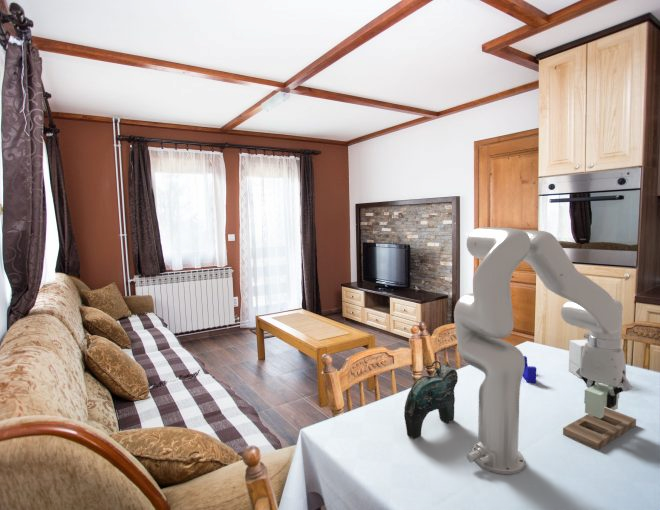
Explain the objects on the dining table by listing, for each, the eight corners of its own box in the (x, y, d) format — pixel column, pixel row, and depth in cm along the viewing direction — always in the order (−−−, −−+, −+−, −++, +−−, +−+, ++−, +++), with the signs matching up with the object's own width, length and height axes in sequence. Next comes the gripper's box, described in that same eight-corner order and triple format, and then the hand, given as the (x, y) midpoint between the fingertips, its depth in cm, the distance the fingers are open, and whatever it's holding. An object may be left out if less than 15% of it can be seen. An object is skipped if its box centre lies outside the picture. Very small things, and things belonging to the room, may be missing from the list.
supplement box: (599, 378, 146) (600, 345, 145) (579, 378, 146) (580, 346, 145) (586, 370, 153) (587, 339, 152) (567, 370, 153) (568, 339, 152)
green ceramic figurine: (446, 412, 124) (446, 352, 122) (462, 421, 119) (463, 358, 117) (400, 433, 114) (400, 368, 111) (417, 444, 108) (416, 375, 106)
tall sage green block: (599, 419, 107) (600, 395, 107) (583, 413, 111) (584, 389, 110) (618, 407, 113) (619, 385, 112) (603, 402, 116) (604, 380, 115)
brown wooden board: (597, 450, 103) (597, 443, 103) (562, 434, 111) (563, 427, 110) (635, 425, 114) (636, 419, 114) (601, 412, 122) (602, 406, 121)
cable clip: (513, 370, 156) (513, 355, 155) (525, 370, 155) (525, 356, 154) (522, 383, 144) (523, 367, 143) (536, 383, 143) (536, 368, 143)
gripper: (566, 337, 115) (564, 395, 117) (632, 353, 100) (629, 420, 102) (580, 332, 119) (577, 389, 121) (646, 347, 104) (642, 412, 106)
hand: (601, 402), depth 111 cm, fingers closed on tall sage green block, 4 cm apart
